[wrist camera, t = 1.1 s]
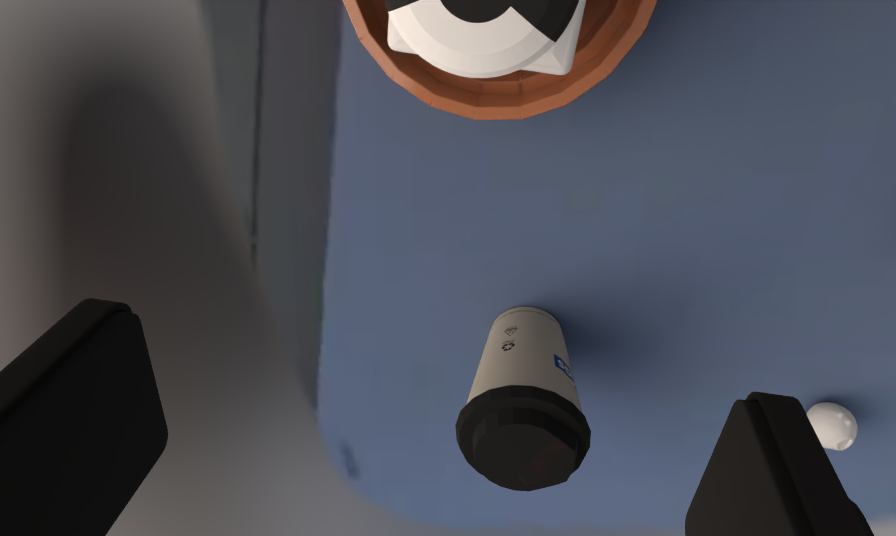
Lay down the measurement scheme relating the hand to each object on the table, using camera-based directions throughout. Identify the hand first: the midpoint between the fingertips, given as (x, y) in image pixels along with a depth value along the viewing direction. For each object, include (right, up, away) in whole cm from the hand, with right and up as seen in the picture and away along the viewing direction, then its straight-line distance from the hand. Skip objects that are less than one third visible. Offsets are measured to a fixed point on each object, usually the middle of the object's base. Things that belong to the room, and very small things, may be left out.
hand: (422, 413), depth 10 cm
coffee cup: (+5, -2, +29) cm, 30 cm away
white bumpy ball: (+24, -7, +29) cm, 38 cm away
